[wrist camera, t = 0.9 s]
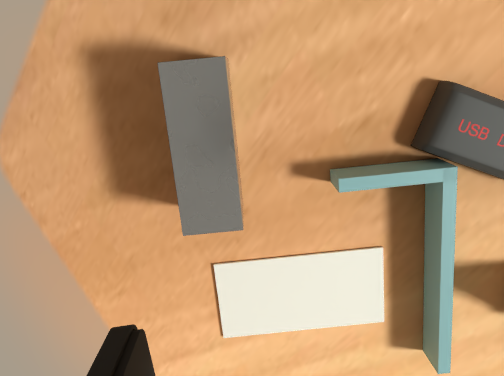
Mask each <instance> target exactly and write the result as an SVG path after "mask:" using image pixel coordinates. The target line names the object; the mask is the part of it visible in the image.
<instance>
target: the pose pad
mask: <svg viewBox="0 0 504 376" xmlns="http://www.w3.org/2000/svg"><path fill="white" fill-rule="evenodd" d="M214 272H215V279H216V286H217V294H218V301H219V308H220V315H221V323H222V330H223V337H224V338H229V337H239V336H248V335H258V334H268V333H278V332H288V331H298V330H307V329H317V328H327V327H337V326H347V325H357V324H366V323H376V322H384V276H383V247H373V248H364V249H354V250H344V251H334V252H325V253H315V254H305V255H295V256H285V257H276V258H266V259H256V260H246V261H237V262H227V263H217V264H214Z"/></svg>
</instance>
